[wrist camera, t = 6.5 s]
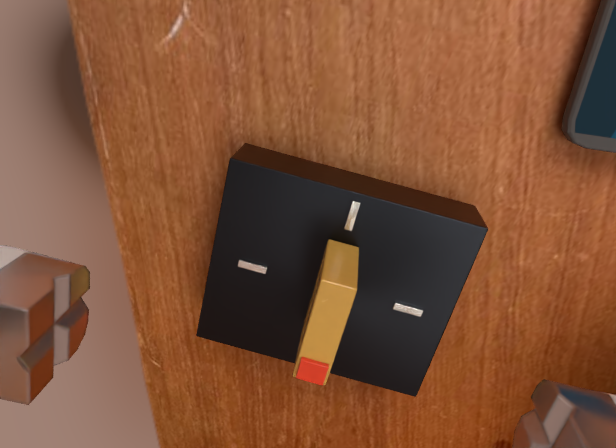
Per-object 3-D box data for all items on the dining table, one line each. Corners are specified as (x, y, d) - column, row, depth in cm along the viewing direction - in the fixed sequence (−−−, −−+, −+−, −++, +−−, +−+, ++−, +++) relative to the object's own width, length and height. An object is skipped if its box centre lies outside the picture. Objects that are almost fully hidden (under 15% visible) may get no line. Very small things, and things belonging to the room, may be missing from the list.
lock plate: (212, 306, 29) (194, 338, 26) (245, 142, 25) (228, 158, 22) (411, 361, 29) (416, 399, 26) (475, 205, 25) (489, 230, 22)
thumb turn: (328, 238, 23) (320, 282, 19) (359, 246, 23) (357, 292, 19) (303, 325, 25) (291, 381, 21) (331, 332, 25) (325, 390, 21)
